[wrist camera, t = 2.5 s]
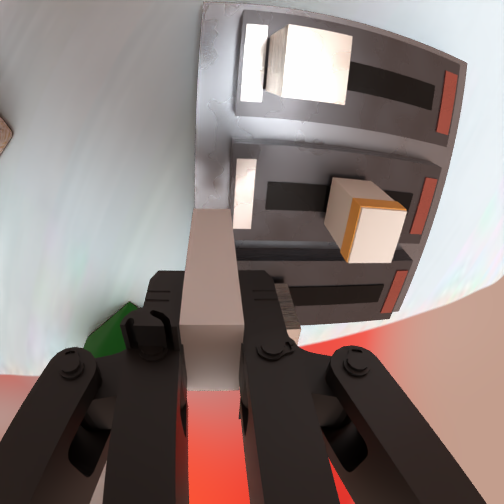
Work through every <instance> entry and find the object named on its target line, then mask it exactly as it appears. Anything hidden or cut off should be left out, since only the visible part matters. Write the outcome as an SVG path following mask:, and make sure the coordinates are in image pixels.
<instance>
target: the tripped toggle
mask: <svg viewBox="0 0 504 504" xmlns="http://www.w3.org/2000/svg"><path fill="white" fill-rule="evenodd" d="M406 210H407V209H405V208H404V207H403V206H402V205H401V204H400V203H399V202H397V201H394V200H393V199H392V198H391V197H390V196H389V195H387V194H386V193H385V192H384V191H383V190H381V189H380V188H379V187H378V186H377V185H376V184H374V183H373V182H372V181H366V180H356V179H346V178H335V177H332V183H331V189H330V194H329V200H328V205H327V211H326V216H325V221H324V225H325V226H326V228H327V229H328V231H329V232H330V234H331V236H332V237H333V239H334V240H335V242H336V244H337V245H338V247H339V248H340V250H341V251H340V253H341V254H342V256H343V258H344V259H345V261H346V262H348V263H391V261H392V258H393V255H394V252H395V249H396V246H397V243H398V240H399V237H400V234H401V230H402V227H403V224H404V220H405V217H406V214H407V211H406Z"/></svg>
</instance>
